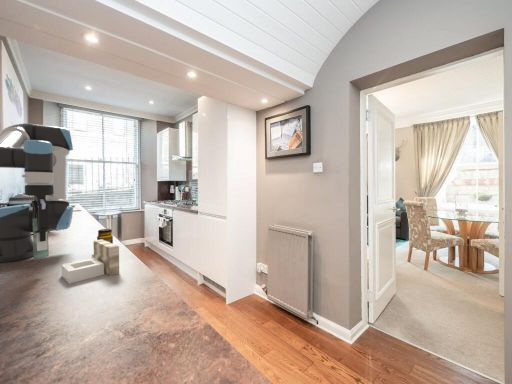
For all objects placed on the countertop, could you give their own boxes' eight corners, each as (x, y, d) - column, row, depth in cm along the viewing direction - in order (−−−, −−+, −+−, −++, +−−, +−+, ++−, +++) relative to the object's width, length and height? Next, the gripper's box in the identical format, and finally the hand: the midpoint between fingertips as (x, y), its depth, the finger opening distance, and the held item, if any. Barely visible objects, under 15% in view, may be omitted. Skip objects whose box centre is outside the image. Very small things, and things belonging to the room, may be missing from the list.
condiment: (114, 256, 104) (113, 230, 104) (91, 259, 100) (90, 232, 99) (113, 252, 110) (113, 227, 110) (92, 255, 106) (91, 229, 106)
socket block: (61, 276, 81) (61, 264, 81) (94, 268, 89) (94, 258, 89) (68, 283, 75) (68, 271, 75) (104, 274, 83) (103, 263, 82)
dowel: (32, 256, 83) (31, 218, 82) (47, 254, 86) (46, 217, 85) (34, 259, 80) (33, 219, 80) (49, 256, 84) (48, 218, 83)
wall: (93, 265, 92) (93, 240, 92) (102, 263, 94) (102, 239, 94) (110, 275, 82) (109, 247, 81) (119, 273, 84) (118, 246, 84)
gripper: (21, 183, 84) (23, 246, 85) (28, 184, 74) (30, 256, 75) (48, 184, 90) (49, 242, 91) (58, 184, 80) (60, 251, 81)
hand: (41, 248), depth 83 cm, fingers closed on dowel, 4 cm apart
